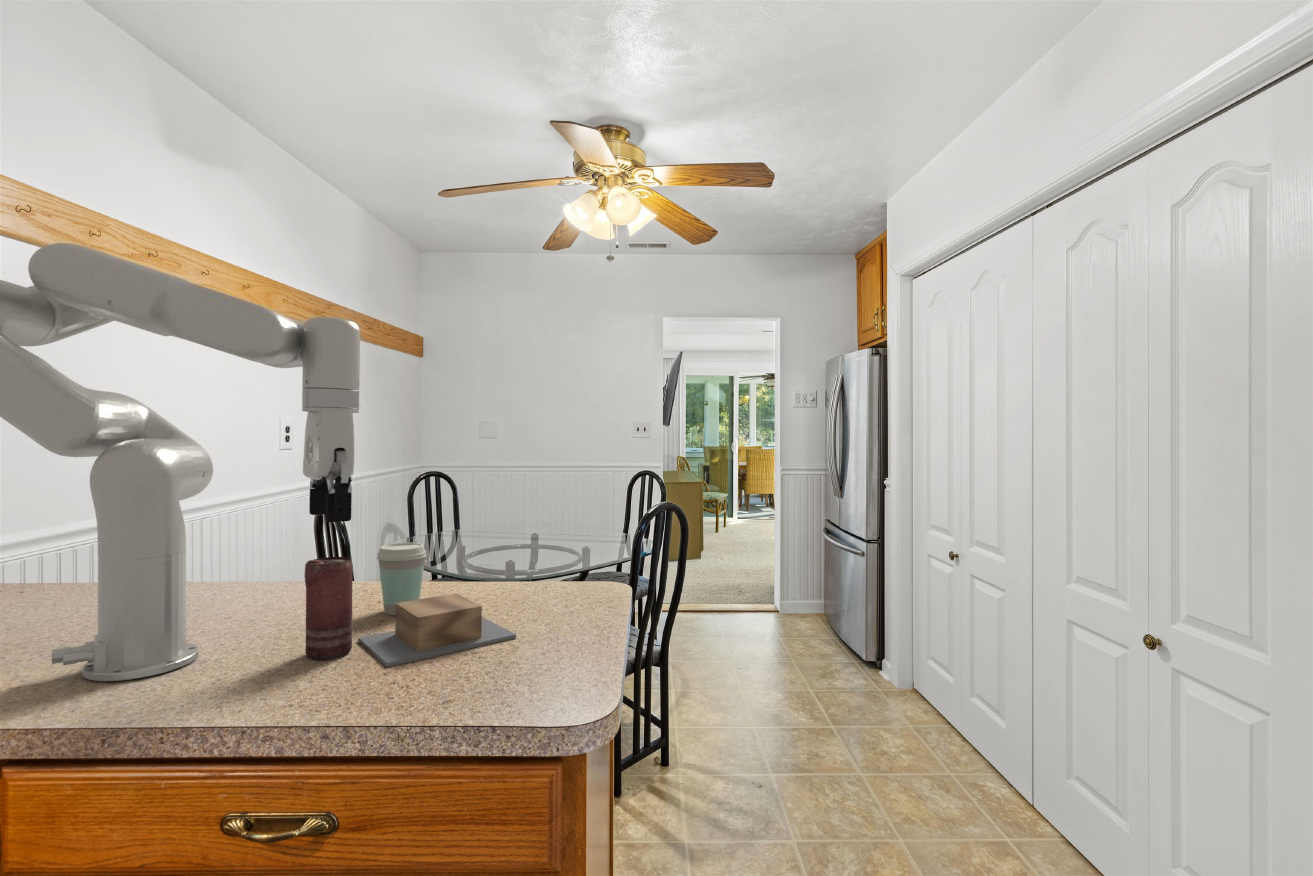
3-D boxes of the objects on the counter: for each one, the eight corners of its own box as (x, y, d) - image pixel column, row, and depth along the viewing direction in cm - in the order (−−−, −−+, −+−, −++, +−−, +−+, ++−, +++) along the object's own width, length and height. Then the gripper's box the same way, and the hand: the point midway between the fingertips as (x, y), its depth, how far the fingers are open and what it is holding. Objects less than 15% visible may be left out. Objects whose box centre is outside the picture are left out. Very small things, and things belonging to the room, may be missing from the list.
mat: (387, 667, 88) (387, 662, 88) (358, 641, 99) (358, 637, 98) (516, 638, 101) (516, 634, 101) (478, 618, 112) (478, 614, 112)
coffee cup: (434, 605, 119) (434, 542, 119) (412, 618, 111) (412, 550, 111) (391, 603, 120) (391, 541, 120) (366, 616, 112) (367, 549, 112)
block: (417, 651, 93) (418, 617, 93) (395, 634, 100) (395, 603, 100) (481, 637, 99) (481, 606, 99) (455, 622, 107) (455, 593, 107)
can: (305, 650, 94) (306, 557, 94) (352, 644, 97) (352, 554, 97) (301, 663, 89) (302, 565, 89) (351, 657, 92) (352, 561, 91)
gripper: (289, 402, 97) (288, 513, 97) (317, 399, 84) (315, 527, 84) (342, 405, 102) (340, 510, 102) (376, 401, 89) (374, 522, 89)
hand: (329, 517), depth 93 cm, fingers open, 9 cm apart
